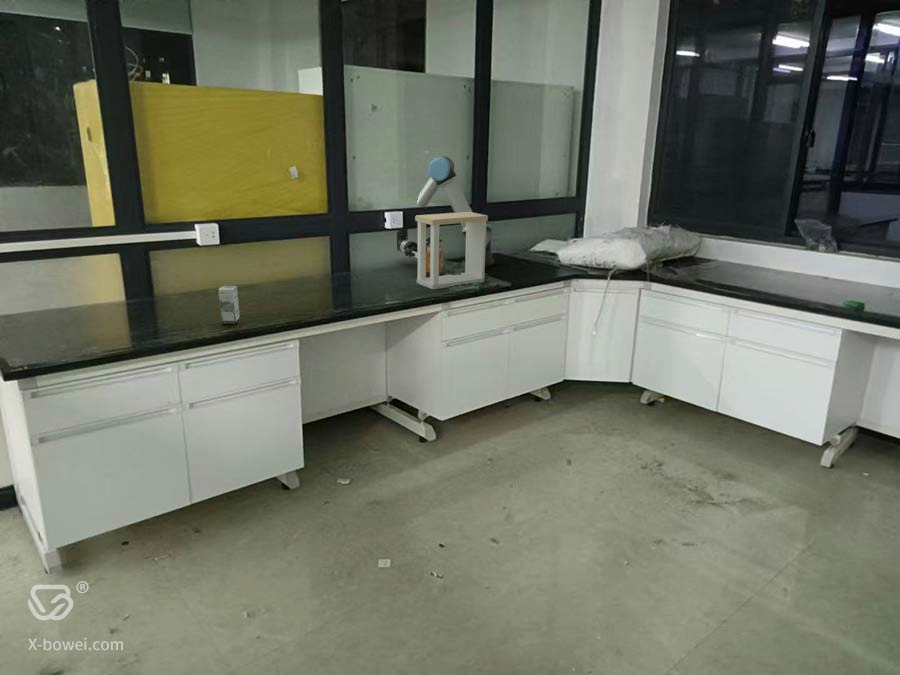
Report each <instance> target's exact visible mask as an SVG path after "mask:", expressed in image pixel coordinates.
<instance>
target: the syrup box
mask: <svg viewBox="0 0 900 675" xmlns="http://www.w3.org/2000/svg"><path fill="white" fill-rule="evenodd" d="M238 293H239V292H238V286H236V285H222V286H221V287H219V288H218V297H219V310H220V317H221V318H220V319H221V322H222V321H237V320H238V319H239V317H240V308H239V306H240V305H239V296H238ZM240 318H241V317H240Z"/></svg>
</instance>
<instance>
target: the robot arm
mask: <svg viewBox="0 0 900 675" xmlns="http://www.w3.org/2000/svg"><path fill="white" fill-rule="evenodd" d="M428 174H429V178H428V180H427V181H426V183H425V184H424V186H423V188H422V189H421V190H420V192H419V193H418V195H419V196H418V195H417V196H418V200H417V205H418V206H420V207H426V206H427V207H428V206H429V204H430V202H431V201H432V199H433V198H434V196H435V195H436V194H437V192H438V191H439V189H440V188H441V190H442V191H443V193H444V195H445V197H446V198H447V201H448V202H449V204H450V206H451V208H452V210H453V213H459V212H473V210H472V208H471V207H470V205H469V203H468V201H467V199H466V197H465V195H464V193H463V191H462V189H461V188H460V185H459V183H458V182H457V178H458V176H457V173H456V171H455V163H454V161H453V159H451V158H450V157H448V156H444V155H442V156H437V157H435V158H433V159H432V160H431V161H430V163H429V164H428ZM427 207H426V208H427ZM460 225H461V227H462V231H461V233H462V235H463V236H464V237H463V238H464V239H465V242H466V223H460ZM492 231H493V228H492V224H490V223H486V243H485V267H488V266H493V265H494V257H493V254H492ZM406 237H407V238H406ZM397 250H398V251H397ZM397 250H396V251H397V252H399V251H400V253H403V254H404V255H405V257H409V258H412V257H413V258H416V259H418V242H415V241H413V240H409V231H408V229H403V230H400V231H398V232H397ZM426 251H427V246H426Z"/></svg>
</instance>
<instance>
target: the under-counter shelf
mask: <svg viewBox="0 0 900 675" xmlns="http://www.w3.org/2000/svg"><path fill="white" fill-rule="evenodd" d="M488 219H489V215H486V214H482V213H477V212H473V211H472V212H459V213H455V212H446V213H434V214H433V213H431V214H421V215H416V216H415V221H416V222H417V244H418V258H417V278H416V284H418V285H421V286H422V287H423V286H424V287H426V288H429V289H431V290H438V289H443V288H444V289H445V288H451V287H450V286H452V287H455V286H454V285H459V286H462V285H461V284H466V285H469V284H468V283H473V284H476V283H475V282H480V283H485V271H486V270H485V268H486V266H485V243H486V224H487V222H488V221H489V220H488ZM461 223H466V241H465V258H464V259H465V260H464V262H465V263H464V264H465V265H464V272H460V273H461V275H452V274H451V273H450V274H443V275H441V276H439V245H440V242H439V238H440V225H451V224H452V225H453V224H461ZM427 225H430V276H427V275H426V247H427V246H426V243H427V242H426V239H427Z"/></svg>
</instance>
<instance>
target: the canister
mask: <svg viewBox="0 0 900 675" xmlns="http://www.w3.org/2000/svg"><path fill="white" fill-rule="evenodd" d="M430 238H431V236H430V237H428V238H426V247H427V251H426V276H427V277H430ZM442 242H443V239H441V238H440V237H439V243H442ZM443 267H444V251H443V246H442V245H441V244H439V275H441V274H443V275H444V272H443V271H444V268H443ZM441 276H442V275H441Z"/></svg>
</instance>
